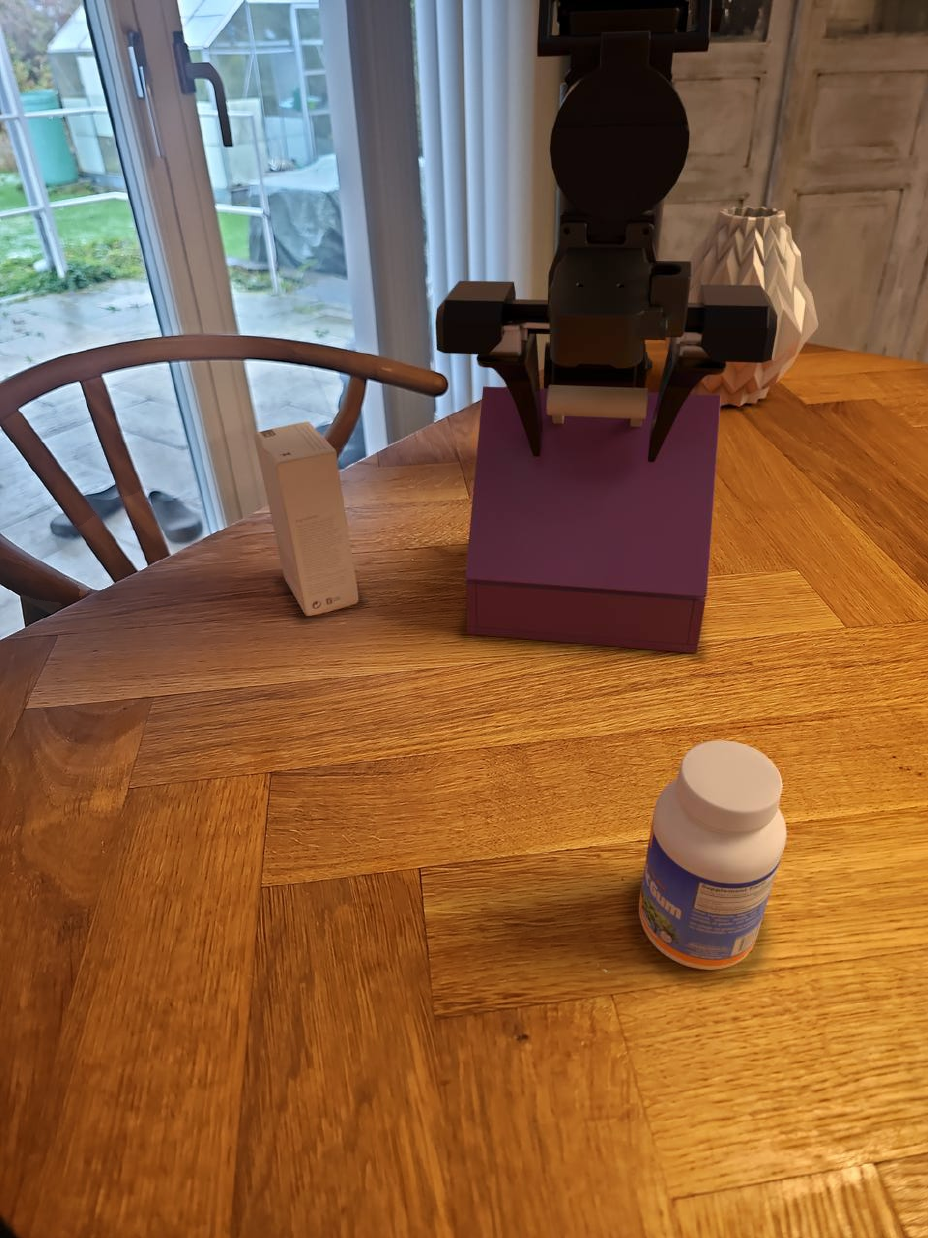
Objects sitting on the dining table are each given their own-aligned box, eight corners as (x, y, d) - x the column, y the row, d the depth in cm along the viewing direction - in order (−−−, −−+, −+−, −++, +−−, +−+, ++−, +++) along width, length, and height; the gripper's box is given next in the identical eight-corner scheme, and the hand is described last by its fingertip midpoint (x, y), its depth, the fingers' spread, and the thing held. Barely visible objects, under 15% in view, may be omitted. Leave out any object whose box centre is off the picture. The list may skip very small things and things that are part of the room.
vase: (632, 374, 100) (647, 201, 89) (766, 365, 101) (797, 194, 90) (675, 427, 87) (699, 232, 76) (829, 416, 88) (873, 222, 77)
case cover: (484, 388, 57) (473, 360, 52) (720, 397, 54) (732, 368, 50) (465, 579, 56) (453, 569, 51) (705, 597, 53) (716, 588, 49)
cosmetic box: (361, 603, 62) (343, 448, 55) (302, 620, 60) (275, 463, 53) (334, 565, 66) (314, 417, 59) (278, 579, 65) (251, 430, 58)
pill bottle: (625, 878, 41) (644, 731, 36) (733, 869, 42) (769, 721, 36) (655, 981, 37) (682, 831, 31) (776, 969, 37) (824, 818, 32)
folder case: (494, 544, 68) (493, 497, 66) (690, 557, 66) (697, 509, 63) (467, 634, 58) (465, 583, 56) (696, 654, 56) (705, 601, 53)
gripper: (404, 212, 40) (422, 507, 49) (819, 213, 37) (758, 527, 46) (449, 176, 49) (458, 431, 58) (787, 174, 46) (741, 444, 55)
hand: (593, 457), depth 54 cm, fingers open, 7 cm apart
